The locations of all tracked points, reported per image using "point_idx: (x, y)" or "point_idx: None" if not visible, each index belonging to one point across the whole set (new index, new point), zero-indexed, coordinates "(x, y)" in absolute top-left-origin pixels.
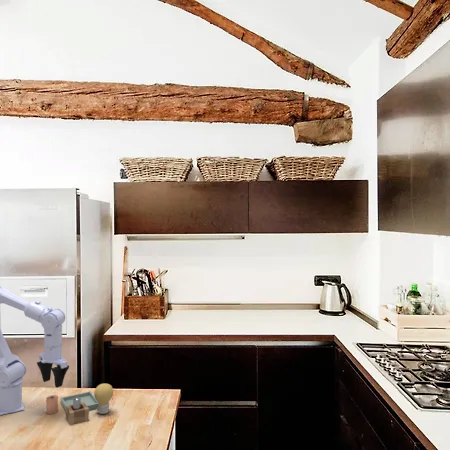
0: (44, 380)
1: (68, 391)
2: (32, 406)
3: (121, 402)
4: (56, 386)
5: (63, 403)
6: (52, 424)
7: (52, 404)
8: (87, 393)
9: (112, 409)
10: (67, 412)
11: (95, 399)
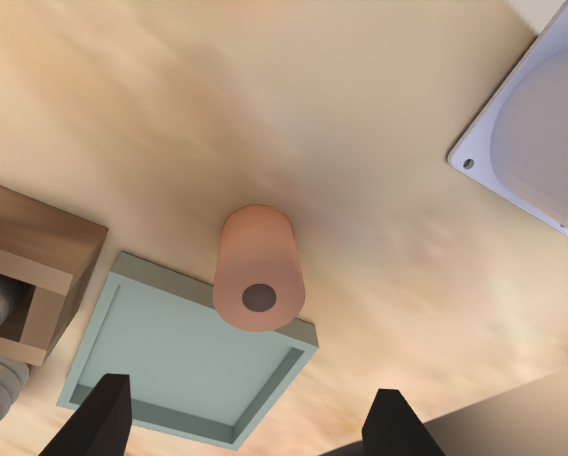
0: (385, 406)
1: None
2: (433, 221)
3: None
4: (98, 385)
5: None
6: (84, 121)
7: (222, 253)
8: (237, 433)
9: None
10: (32, 237)
11: None
